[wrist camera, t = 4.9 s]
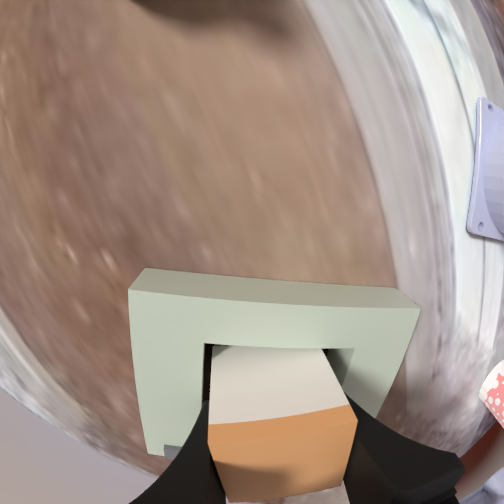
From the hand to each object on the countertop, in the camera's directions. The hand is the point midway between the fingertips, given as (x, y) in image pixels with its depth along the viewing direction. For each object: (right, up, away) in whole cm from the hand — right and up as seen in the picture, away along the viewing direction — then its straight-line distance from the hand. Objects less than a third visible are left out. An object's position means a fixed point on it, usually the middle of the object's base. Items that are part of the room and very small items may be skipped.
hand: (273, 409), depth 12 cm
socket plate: (0, +1, +3) cm, 3 cm away
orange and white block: (0, +1, +2) cm, 2 cm away
